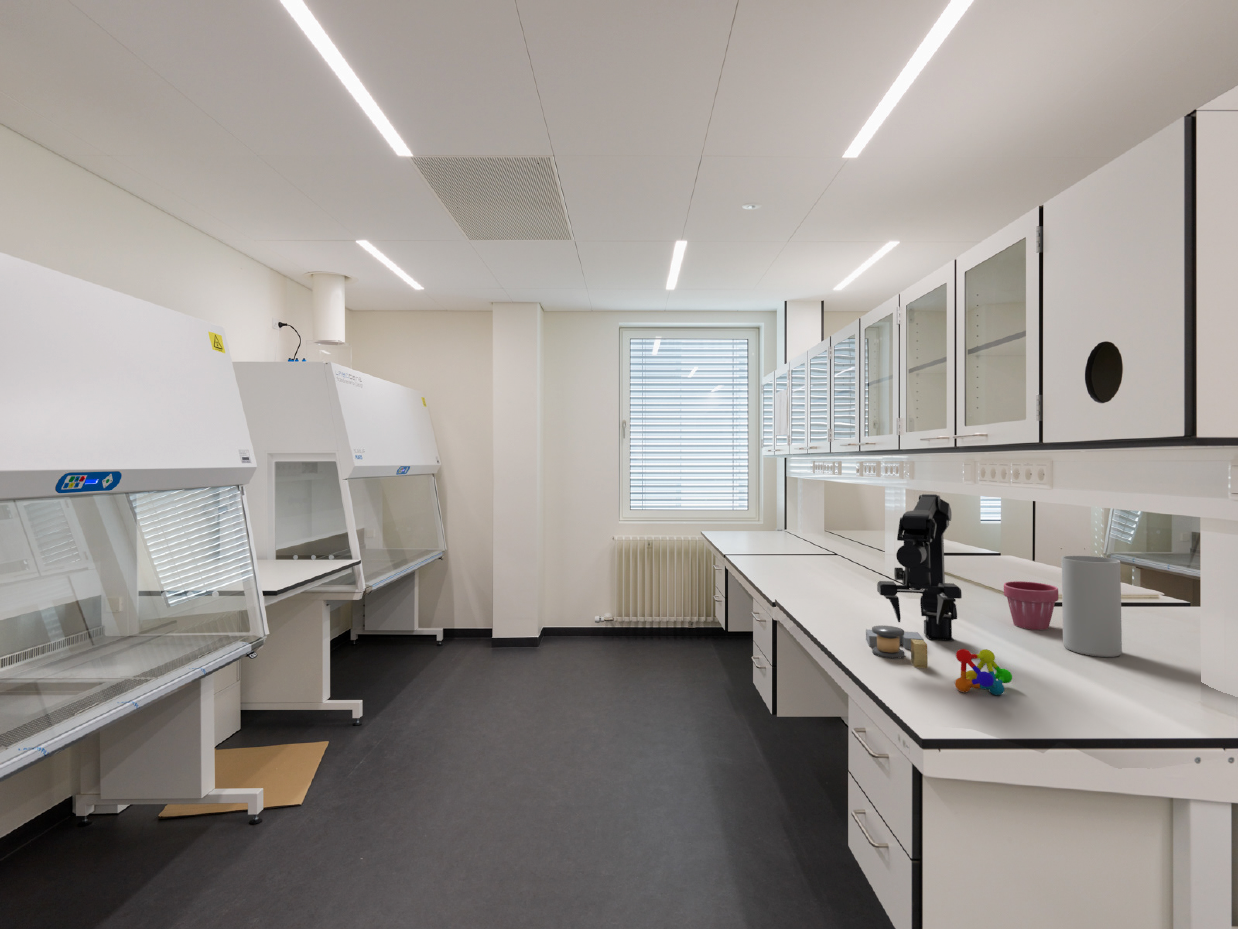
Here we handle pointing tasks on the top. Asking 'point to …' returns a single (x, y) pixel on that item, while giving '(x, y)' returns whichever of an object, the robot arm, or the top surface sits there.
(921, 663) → the tan wooden block
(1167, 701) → the top surface
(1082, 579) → the cylinder vase
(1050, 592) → the plant pot
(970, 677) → the molecular model
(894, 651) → the bobbin
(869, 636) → the notch board
